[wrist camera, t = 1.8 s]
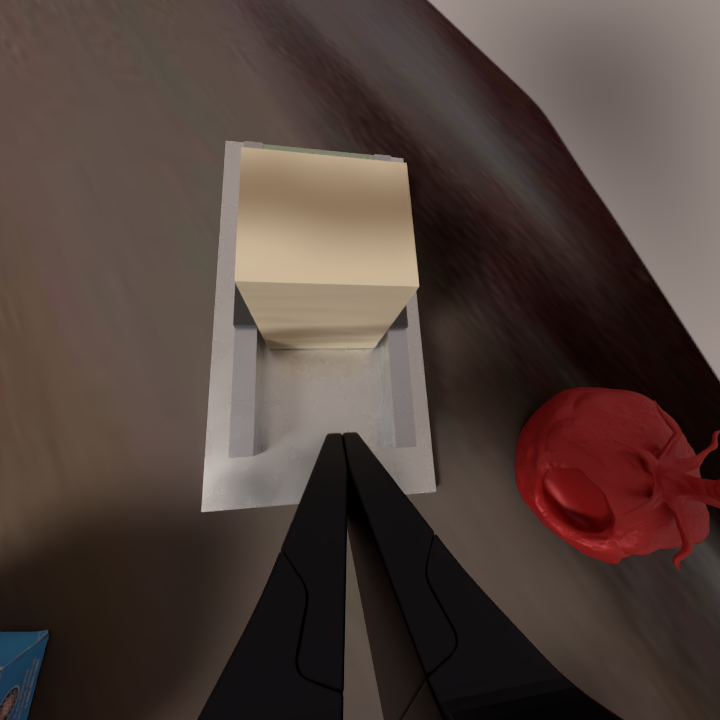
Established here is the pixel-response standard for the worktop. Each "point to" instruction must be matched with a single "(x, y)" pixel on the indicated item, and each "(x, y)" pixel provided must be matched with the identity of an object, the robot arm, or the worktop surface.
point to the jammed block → (323, 247)
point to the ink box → (19, 671)
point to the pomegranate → (614, 475)
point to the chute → (303, 390)
